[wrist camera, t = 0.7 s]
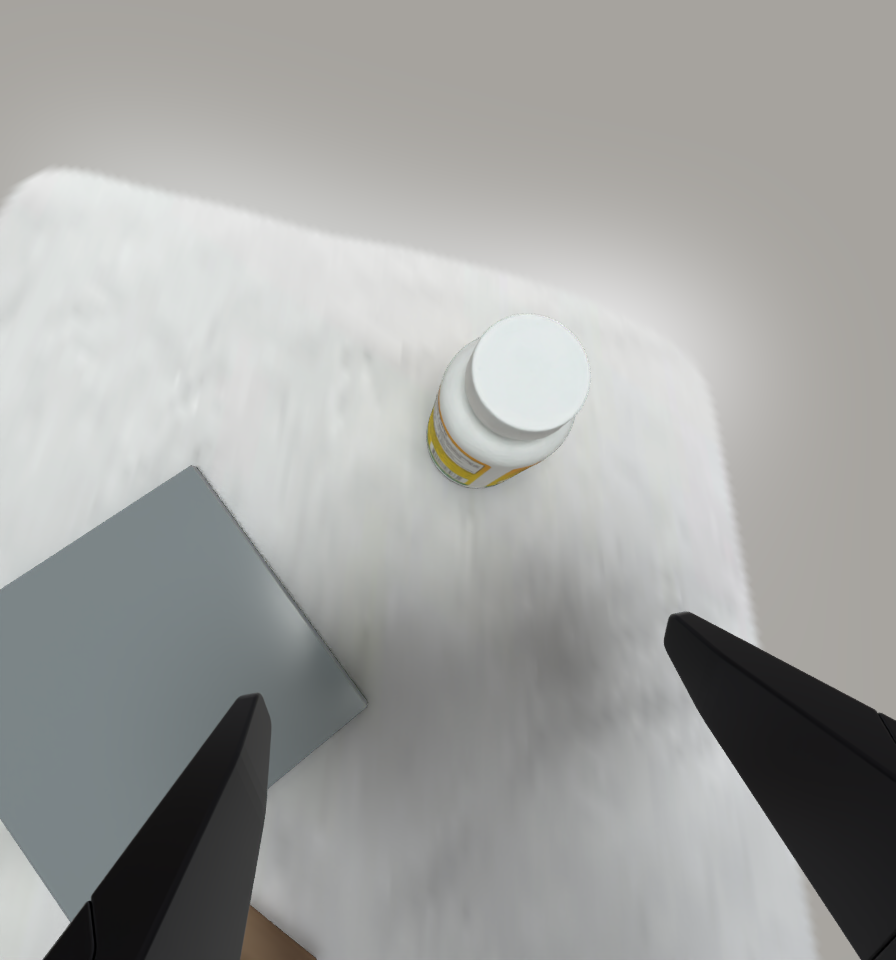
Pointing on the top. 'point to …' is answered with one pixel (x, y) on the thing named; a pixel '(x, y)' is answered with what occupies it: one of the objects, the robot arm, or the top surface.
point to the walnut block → (269, 941)
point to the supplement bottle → (507, 400)
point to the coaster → (145, 676)
